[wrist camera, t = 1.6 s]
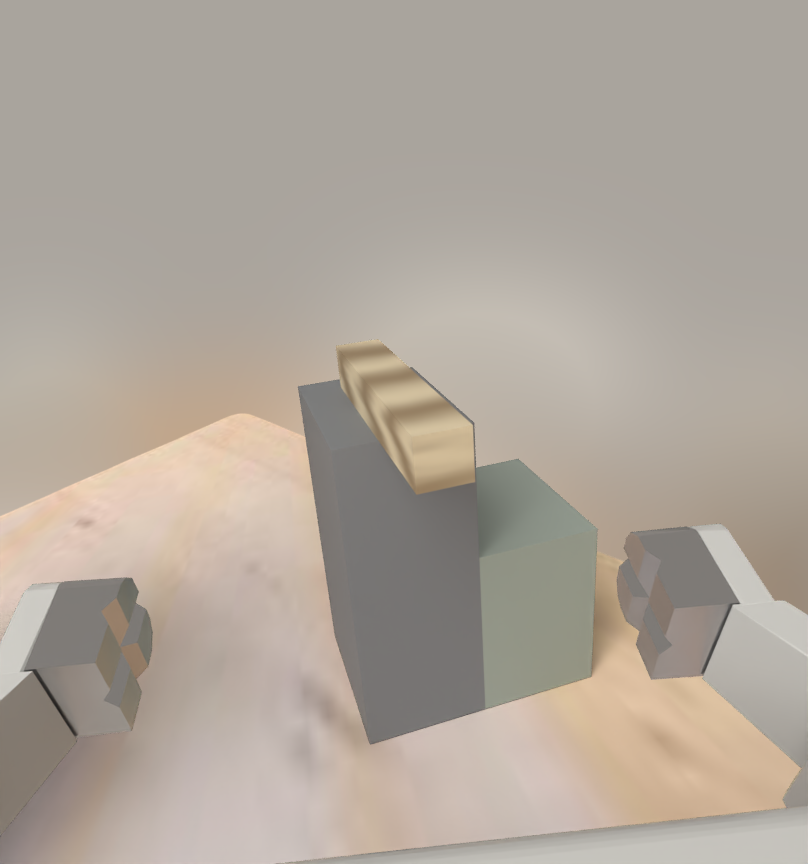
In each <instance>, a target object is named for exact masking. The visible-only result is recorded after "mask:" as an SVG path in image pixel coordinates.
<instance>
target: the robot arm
mask: <svg viewBox="0 0 808 864" xmlns="http://www.w3.org/2000/svg"><path fill="white" fill-rule="evenodd" d="M624 550H625V552H626V554H627V556H628V559H627V560H626V561H625V562H624V563H623V564H622V565H620V566H619V571H618V576H617V591H618V598H619V602H620V606H621V609H622V612H623V614H624V617H625V619H626V621H627V622H628V623H629V624H631V625H632V626H633V627H635V628H636V629H637V630H639V635H638V638H637V642H636V646H637V648H638V650H639V653H640V655H641V657H642V660H643V662H644V664H645V667H646V669H647V671H648V673H649V676H650V678H651V680H652V679H666V678H680V677H694V676H703V678H702V679H703V680H704V681H706V682H707V683H708V684H709V685H710V686H711V687H712V688H713V689H714V690H715V691H717V692H718V693H719V694H720V695H721V696H722V697H723V698H724V699H725V700H727V701H728V702H729V703H730V704H731V705H732V706H733V707H734V708H735V709H736V710H738V711H739V712H740V713H741V714H742V715H743V716H744V717H745V718H746V719H748V720H749V721H750V722H751V723H752V724H753V725H754V726H755V727H756V728H757V729H759V730H760V731H761V732H762V733H763V734H764V735H765V736H766V737H767V738H769V739H770V740H771V741H772V742H773V743H774V744H775V745H776V746H777V747H779V748H780V749H781V750H782V751H783V752H784V753H785V754H786V755H787V756H788V757H790V758H791V759H792V760H793V761H794V762H795V763H796V764H797V765H798V766H800V767H801V770H800V771H799V773H798V774H797V776H796V777H795V779H794V780H793V782H792V783H791V785H790V786H789V788H788V789H787V791H786V793H785V795H784V797H783V801H784V803H785V805H786V807H787V808H782V809H772V810H763V811H754V812H745V813H736V814H726V815H717V816H708V817H699V818H690V819H681V820H671V821H662V822H653V823H644V824H635V825H625V826H616V827H607V828H598V829H589V830H579V831H570V832H561V833H552V834H543V835H533V836H524V837H515V838H506V839H497V840H488V841H478V842H469V843H460V844H451V845H442V846H433V847H424V848H414V849H405V850H396V851H387V852H378V853H369V854H360V855H350V856H341V857H332V858H323V859H314V860H305V861H296V862H286V863H277V864H808V615H807V614H805V613H804V612H802V611H801V610H799V609H797V608H796V607H794V606H793V605H791V604H789V603H788V602H786V601H784V600H780V601H775V600H774V599H773V597H772V596H771V594H770V593H769V591H768V590H767V588H766V587H765V585H764V584H763V582H762V581H761V579H760V578H759V576H758V575H757V573H756V572H755V570H754V569H753V567H752V566H751V564H750V563H749V561H748V559H747V558H746V556H745V555H744V553H743V552H742V550H741V549H740V547H739V546H738V544H737V543H736V542H735V540H734V538H733V537H732V535H731V534H730V532H729V531H728V529H727V528H726V527H724V526H723V525H721V524H714V525H702V526H691V527H678V528H668V529H658V530H648V531H638V532H631V533H630V534H629V535H628V536H627V538H626V542H625V545H624ZM138 592H139V591H138V589H137V587H136V585H135V583H134V581H133V579H132V578H113V579H97V580H81V581H66V582H56V583H42V584H32V585H31V586H30V587H29V588H28V589H27V590H26V591H25V592H24V593H23V595H22V597H21V599H20V601H19V604H18V606H17V608H16V610H15V612H14V614H13V616H12V619H11V621H10V623H9V625H8V627H7V629H6V632H5V634H4V636H3V638H2V640H1V642H0V836H1V835H2V833H3V832H4V831H5V830H6V828H7V827H8V826H9V825H10V824H11V822H12V821H13V820H14V819H15V817H16V816H17V815H18V814H19V812H20V811H21V810H22V809H23V807H24V806H25V805H26V804H27V802H28V801H29V800H30V799H31V798H32V796H33V795H34V794H35V793H36V791H37V790H38V789H39V788H40V786H41V785H42V784H43V783H44V781H45V780H46V779H47V778H48V776H49V775H50V774H51V773H52V772H53V770H54V769H55V768H56V767H57V765H58V764H59V763H60V762H61V760H62V759H63V758H64V757H65V755H66V754H67V753H68V752H69V750H70V749H71V748H72V747H73V746H74V744H75V743H76V742H77V739H76V738H79V737H87V736H95V735H103V734H111V733H119V732H127V731H132V729H133V725H134V721H135V717H136V713H137V709H138V705H139V701H140V697H141V693H142V691H141V689H140V687H139V685H138V683H137V680H136V679H137V678H138V676H139V675H140V674H141V673H142V672H143V671H144V670H145V669H146V668H147V667H148V665H149V660H150V656H151V651H152V627H151V621H150V618H149V615H148V613H147V610H146V609H145V608H143V607H141V606H140V605H138V604H136V599H137V595H138Z"/></svg>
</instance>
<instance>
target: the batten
mask: <svg viewBox="0 0 808 864" xmlns="http://www.w3.org/2000/svg"><path fill="white" fill-rule="evenodd" d="M336 351H337V359H338V368H339V376H340V384H341V388H342V390H343V391H344V392H345V394H346V395H347V397H348V398H349V400H350V401H351V402H352V404H353V405H354V407H355V408H356V409H357V411H358V412H359V414H360V415H361V417H362V418H363V419H364V421H365V422H366V424H367V425H368V427H369V428H370V429H371V431H372V432H373V434H374V435H375V436H376V438H377V439H378V441H379V442H380V444H381V445H382V446H383V448H384V449H385V451H386V452H387V454H388V455H389V456H390V458H391V459H392V461H393V462H394V463H395V465H396V466H397V468H398V469H399V471H400V472H401V473H402V475H403V476H404V478H405V479H406V481H407V482H408V483H409V485H410V486H411V488H412V489H413V490H414V492H415V493H416V495H418V494H422V493H427V492H431V491H436V490H441V489H445V488H450V487H454V486H459V485H464V484H468V483H473V482H475V465H474V440H473V425H472V424H471V423H470V422H469V421H468V420H467V419H466V418H465V417H463V416H462V415H461V414H460V413H459V412H458V411H457V410H456V409H455V408H454V407H452V406H451V405H450V404H449V403H448V402H447V401H446V400H445V399H444V398H442V397H441V396H440V395H439V394H438V393H437V392H436V391H435V390H434V389H433V388H431V387H430V386H429V385H428V384H427V383H426V382H425V381H424V380H423V379H421V378H420V377H419V376H418V375H417V374H416V373H415V372H414V371H413V370H412V369H410V368H409V367H408V366H407V365H406V364H405V363H404V362H402V360H400V359H399V358H398V357H397V356H396V355H395V354H393V352H392V351H390V350H389V349H388V348H387V347H386V346H385V345H384V344H383V343H382V342H380V341H379V340H378V339H377V340H370V341H364V342H357V343H351V344H344V345H338V346H336Z"/></svg>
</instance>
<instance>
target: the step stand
mask: <svg viewBox="0 0 808 864" xmlns="http://www.w3.org/2000/svg"><path fill="white" fill-rule="evenodd" d="M410 369H412V370H413V371H414V372H415V373H416V374H417V375H418V376H419V377H420V378H421V379H423V380H424V381H425V382H426V383H427V384H428V385H429V386H430V387H431V388H433V389H434V390H435V391H436V392H437V393H438V394H439V395H440V396H441V397H442V398H444V399H445V400H446V401H447V402H448V403H449V404H450V405H451V406H452V407H454V408H455V409H456V410H457V411H458V412H459V413H460V414H461V415H462V416H463V417H465V418H466V419H467V420H468V421H469V422H470V423H471V424H472V425H473V440H474V465H475V482H473V483H468V484H464V485H459V486H454V487H450V488H445V489H441V490H436V491H431V492H427V493H422V494H418V495H416V493H415V492H414V490H413V489H412V488H411V486H410V485H409V483H408V482H407V481H406V479H405V478H404V476H403V475H402V473H401V472H400V471H399V469H398V468H397V466H396V465H395V463H394V462H393V461H392V459H391V458H390V456H389V455H388V454H387V452H386V451H385V449H384V448H383V446H382V445H381V444H380V442H379V441H378V439H377V438H376V436H375V435H374V434H373V432H372V431H371V429H370V428H369V427H368V425H367V424H366V422H365V421H364V419H363V418H362V417H361V415H360V414H359V412H358V411H357V409H356V408H355V407H354V405H353V404H352V402H351V401H350V400H349V398H348V397H347V395H346V394H345V392H344V391H343V390H342V388H341V384H340V379H339V380H333V381H328V382H322V383H316V384H310V385H304V386H298V390H299V397H300V403H301V409H302V416H303V424H304V431H305V437H306V444H307V451H308V458H309V464H310V471H311V478H312V485H313V491H314V498H315V505H316V512H317V518H318V525H319V532H320V539H321V545H322V552H323V559H324V565H325V572H326V579H327V586H328V592H329V599H330V606H331V613H332V619H333V626H334V633H335V637H336V640H337V643H338V646H339V650H340V653H341V656H342V659H343V662H344V665H345V668H346V671H347V674H348V678H349V681H350V684H351V687H352V690H353V693H354V696H355V699H356V702H357V706H358V709H359V712H360V715H361V718H362V721H363V724H364V727H365V730H366V734H367V737H368V740H369V743H370V744H373V743H376V742H380V741H383V740H386V739H389V738H393V737H396V736H399V735H403V734H406V733H409V732H412V731H416V730H419V729H422V728H425V727H429V726H432V725H435V724H438V723H442V722H445V721H448V720H451V719H455V718H458V717H461V716H464V715H468V714H471V713H474V712H477V711H481V710H484V709H487V708H490V707H494V706H497V705H500V704H503V703H507V702H510V701H513V700H517V699H520V698H523V697H526V696H530V695H533V694H536V693H539V692H543V691H546V690H549V689H552V688H556V687H559V686H562V685H565V684H569V683H572V682H575V681H578V680H582V679H585V678H588V677H591V672H592V648H593V624H594V601H595V577H596V553H597V530H598V529H597V528H596V527H595V526H593V524H591V523H590V522H589V521H588V520H587V519H586V518H585V517H584V516H582V515H581V514H580V513H579V512H578V511H577V510H576V509H574V508H573V507H572V506H571V505H570V504H569V503H567V502H566V501H565V500H564V499H563V498H562V497H561V496H560V495H559V494H557V493H556V492H555V491H554V490H553V489H552V488H551V487H550V486H548V485H547V484H546V483H545V482H544V481H543V480H542V479H540V478H539V477H538V476H537V475H536V474H535V473H534V472H532V471H531V470H530V469H529V468H528V467H527V466H526V465H525V464H524V463H522V462H521V461H520V460H519V459H515V460H511V461H506V462H501V463H497V464H492V465H487V466H482V467H478V468H476V460H475V459H476V457H475V433H474V422H473V421H472V420H470V419H469V418H468V417H467V416H466V415H465V414H464V413H463V412H462V411H460V410H459V409H458V408H457V407H456V406H455V405H454V404H453V403H451V402H450V401H449V400H448V399H447V398H446V397H445V396H444V395H442V394H441V393H440V392H439V391H438V390H437V389H436V388H434V386H432V385H431V384H430V383H429V382H428V381H427V380H426V379H425V378H424V377H422V376H421V375H420V374H419V373H418V372H417V371H416V370H414V369H413V368H412V367H410Z"/></svg>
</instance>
